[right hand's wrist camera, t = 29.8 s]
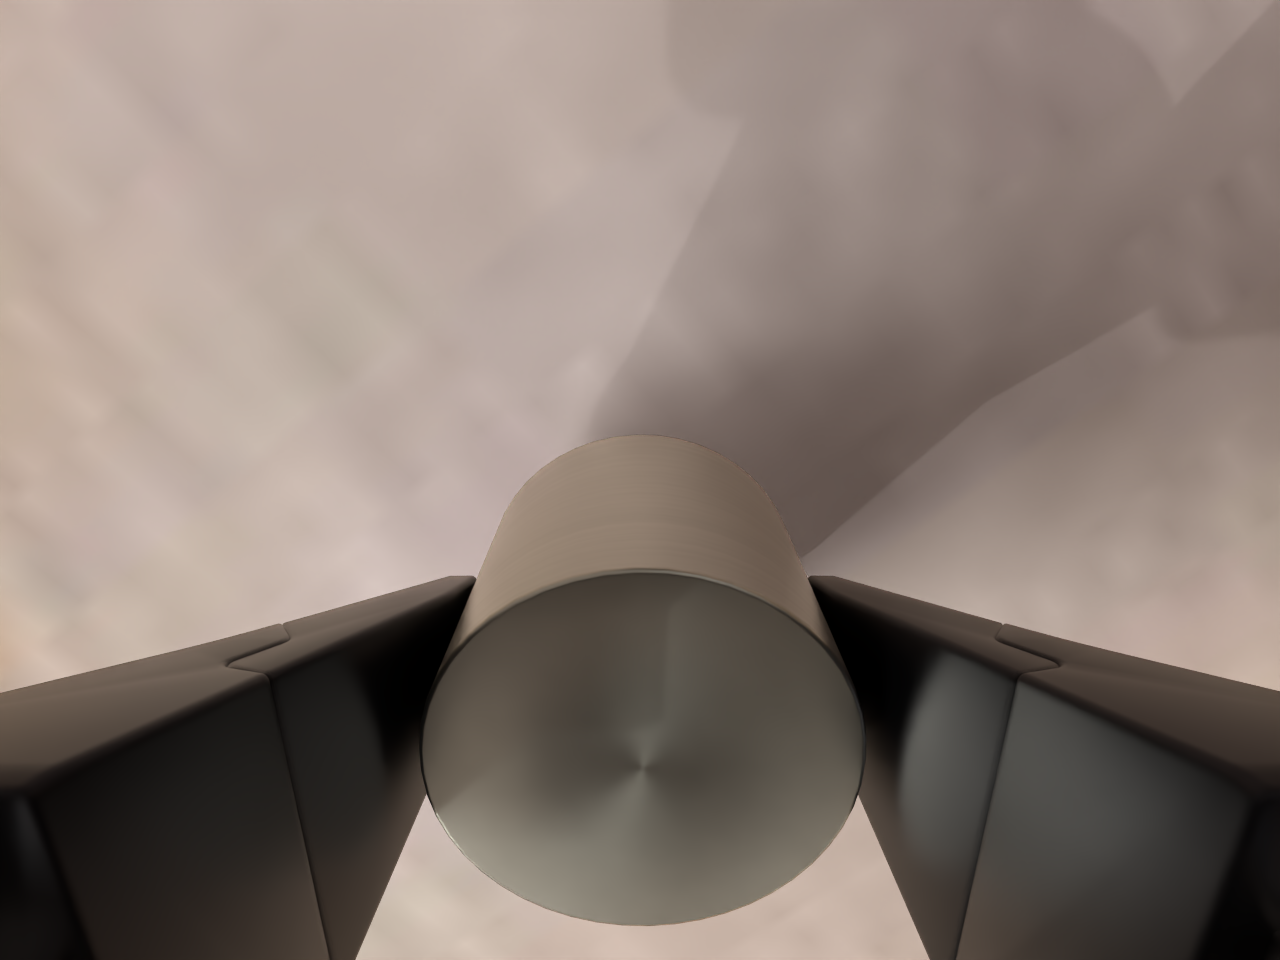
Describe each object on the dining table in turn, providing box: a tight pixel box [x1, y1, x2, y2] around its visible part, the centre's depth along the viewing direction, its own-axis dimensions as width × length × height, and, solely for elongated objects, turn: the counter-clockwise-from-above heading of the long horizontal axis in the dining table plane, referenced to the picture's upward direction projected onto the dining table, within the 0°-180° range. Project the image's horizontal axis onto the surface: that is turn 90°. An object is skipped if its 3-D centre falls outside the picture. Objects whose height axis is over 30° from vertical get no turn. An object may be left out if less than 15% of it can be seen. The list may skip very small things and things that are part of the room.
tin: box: [419, 435, 867, 926], centre depth 10 cm, size 5×5×4 cm
